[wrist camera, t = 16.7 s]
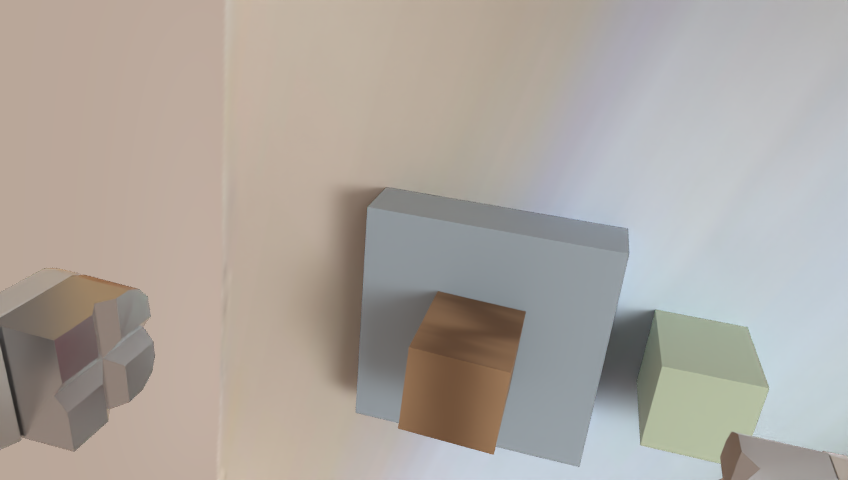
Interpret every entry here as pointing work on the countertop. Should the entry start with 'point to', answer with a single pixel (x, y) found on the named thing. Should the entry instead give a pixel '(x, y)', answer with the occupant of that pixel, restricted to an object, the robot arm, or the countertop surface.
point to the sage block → (698, 385)
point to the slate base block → (502, 285)
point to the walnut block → (461, 371)
